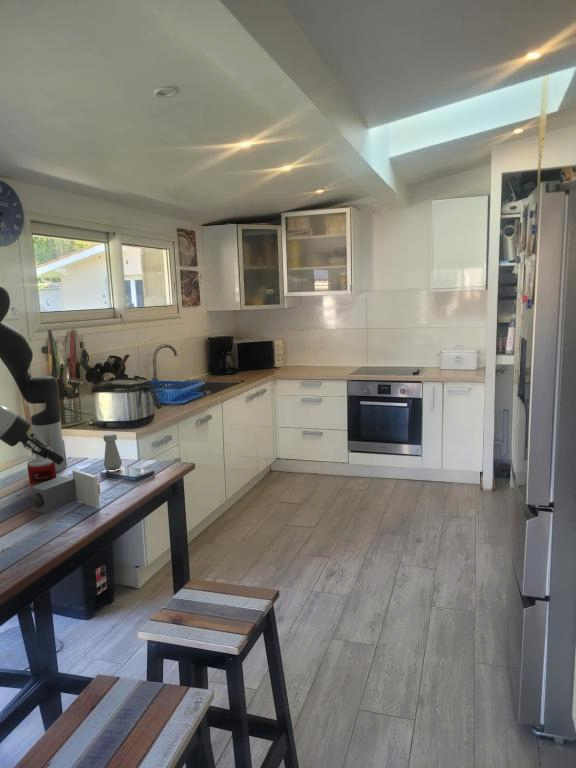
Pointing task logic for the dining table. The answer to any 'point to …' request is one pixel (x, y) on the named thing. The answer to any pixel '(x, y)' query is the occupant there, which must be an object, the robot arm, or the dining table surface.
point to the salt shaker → (111, 453)
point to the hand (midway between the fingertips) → (61, 461)
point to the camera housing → (54, 494)
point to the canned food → (41, 471)
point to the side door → (87, 488)
